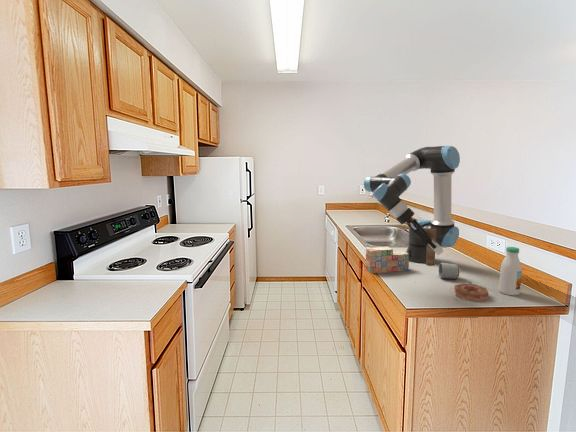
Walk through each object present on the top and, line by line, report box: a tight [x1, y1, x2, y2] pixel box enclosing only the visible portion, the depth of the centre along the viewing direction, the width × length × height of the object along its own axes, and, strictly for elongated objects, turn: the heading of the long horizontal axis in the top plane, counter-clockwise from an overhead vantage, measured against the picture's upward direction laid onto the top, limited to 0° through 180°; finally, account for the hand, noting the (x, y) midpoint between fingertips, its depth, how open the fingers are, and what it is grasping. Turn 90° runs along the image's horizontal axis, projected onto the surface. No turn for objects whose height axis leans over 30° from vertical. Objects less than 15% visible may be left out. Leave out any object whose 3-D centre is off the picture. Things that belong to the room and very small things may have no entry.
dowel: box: [425, 228, 437, 267], centre depth 150 cm, size 4×4×16 cm
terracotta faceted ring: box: [454, 283, 489, 302], centre depth 146 cm, size 12×12×3 cm
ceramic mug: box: [438, 262, 460, 280], centre depth 169 cm, size 11×8×8 cm
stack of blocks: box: [365, 246, 410, 274], centre depth 181 cm, size 21×6×12 cm, turn 97°
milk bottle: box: [498, 246, 523, 297], centre depth 147 cm, size 8×8×20 cm
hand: (440, 251), depth 149 cm, fingers closed on dowel, 3 cm apart
